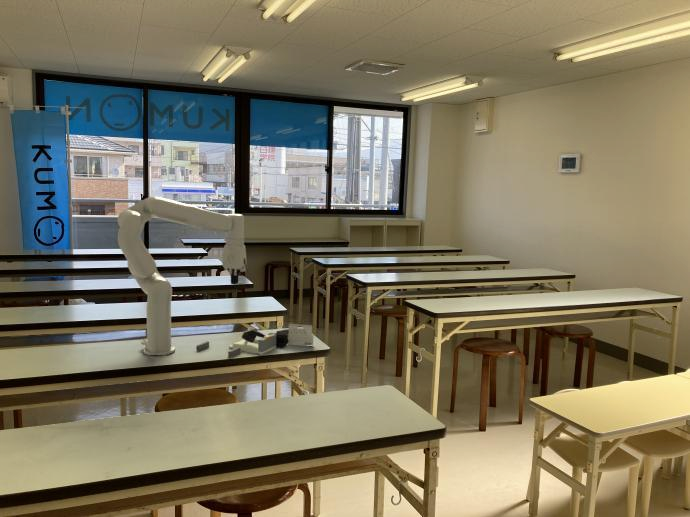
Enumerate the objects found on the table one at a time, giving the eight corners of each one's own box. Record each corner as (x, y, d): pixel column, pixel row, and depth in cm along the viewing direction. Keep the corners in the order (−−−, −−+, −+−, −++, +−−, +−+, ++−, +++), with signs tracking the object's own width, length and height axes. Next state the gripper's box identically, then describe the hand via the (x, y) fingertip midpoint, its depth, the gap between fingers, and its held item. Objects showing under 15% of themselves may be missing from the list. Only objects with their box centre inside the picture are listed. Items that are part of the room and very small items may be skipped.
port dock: (228, 348, 248) (228, 333, 247) (243, 341, 258) (243, 327, 257) (262, 354, 241) (262, 339, 240) (276, 347, 251) (276, 333, 250)
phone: (288, 329, 279) (308, 334, 268) (288, 331, 279) (308, 337, 268) (275, 331, 274) (294, 337, 263) (275, 333, 274) (294, 339, 263)
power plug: (272, 339, 249) (247, 328, 245) (264, 354, 249) (239, 344, 245) (270, 335, 255) (245, 325, 250) (262, 350, 255) (237, 341, 250)
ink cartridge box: (289, 343, 258) (289, 322, 257) (313, 345, 256) (314, 324, 255) (287, 345, 255) (288, 323, 254) (312, 347, 253) (312, 325, 252)
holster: (196, 350, 243) (196, 345, 242) (206, 346, 249) (206, 341, 249) (230, 357, 236) (230, 351, 235) (240, 353, 242) (240, 347, 241)
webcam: (289, 345, 255) (289, 333, 254) (281, 349, 250) (282, 336, 249) (271, 342, 259) (271, 330, 258) (264, 345, 253) (264, 333, 253)
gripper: (215, 241, 251) (215, 283, 253) (244, 244, 245) (243, 287, 247) (226, 240, 258) (225, 280, 260) (254, 243, 251) (253, 284, 254)
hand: (234, 283), depth 254 cm, fingers closed
